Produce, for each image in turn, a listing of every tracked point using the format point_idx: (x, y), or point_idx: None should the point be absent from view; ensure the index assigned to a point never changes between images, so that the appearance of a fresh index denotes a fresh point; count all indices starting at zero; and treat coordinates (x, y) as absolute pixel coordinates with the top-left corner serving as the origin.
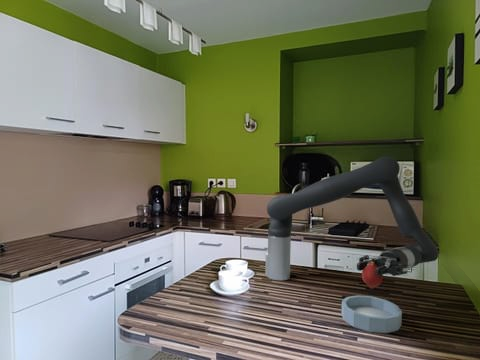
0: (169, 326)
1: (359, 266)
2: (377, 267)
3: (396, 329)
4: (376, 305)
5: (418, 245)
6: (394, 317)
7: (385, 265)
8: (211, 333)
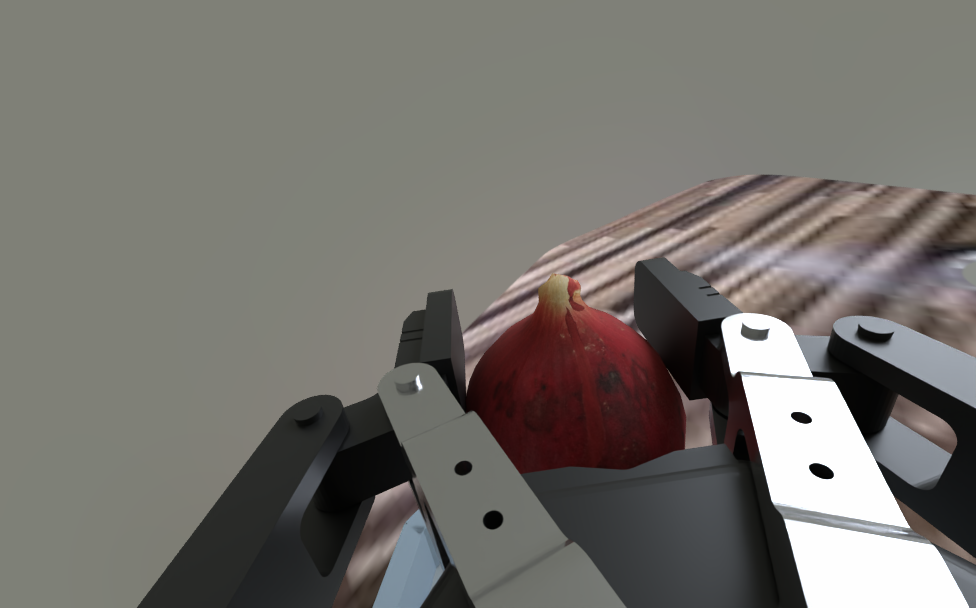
0: (698, 202)
1: (637, 285)
2: (505, 353)
3: None
4: None
5: None
6: (380, 591)
7: (426, 375)
8: (650, 230)
